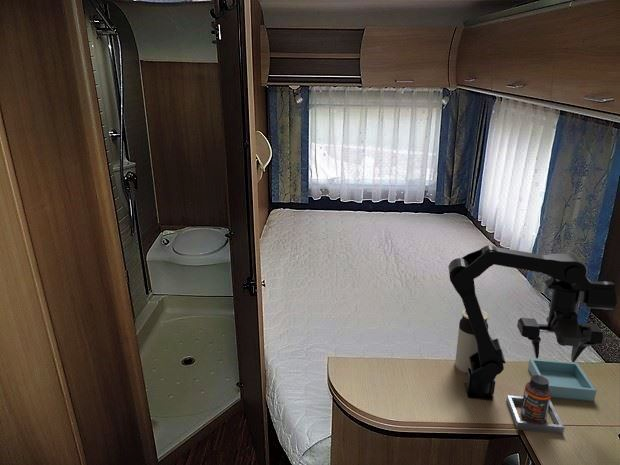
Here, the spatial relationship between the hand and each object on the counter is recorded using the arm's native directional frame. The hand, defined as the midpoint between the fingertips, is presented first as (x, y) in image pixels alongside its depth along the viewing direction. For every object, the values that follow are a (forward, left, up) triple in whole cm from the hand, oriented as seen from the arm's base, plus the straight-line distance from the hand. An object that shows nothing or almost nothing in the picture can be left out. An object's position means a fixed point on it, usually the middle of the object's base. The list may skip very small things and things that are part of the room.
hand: (554, 359), depth 115 cm
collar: (-5, -7, -13) cm, 16 cm away
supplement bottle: (-5, -7, -13) cm, 16 cm away
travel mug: (-18, +13, -13) cm, 26 cm away
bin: (+6, +8, -13) cm, 17 cm away
